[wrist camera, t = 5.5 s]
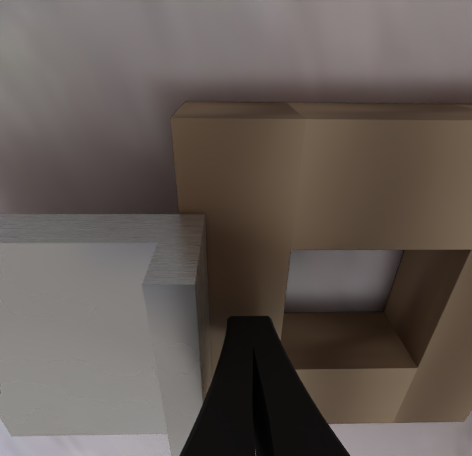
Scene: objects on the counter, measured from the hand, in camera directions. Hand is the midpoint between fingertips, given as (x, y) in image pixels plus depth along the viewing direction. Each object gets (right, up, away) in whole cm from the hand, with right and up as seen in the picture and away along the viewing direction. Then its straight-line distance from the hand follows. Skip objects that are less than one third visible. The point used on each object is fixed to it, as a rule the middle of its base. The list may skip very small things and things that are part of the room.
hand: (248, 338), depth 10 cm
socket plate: (+4, +2, +4) cm, 6 cm away
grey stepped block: (-5, 0, +1) cm, 5 cm away
